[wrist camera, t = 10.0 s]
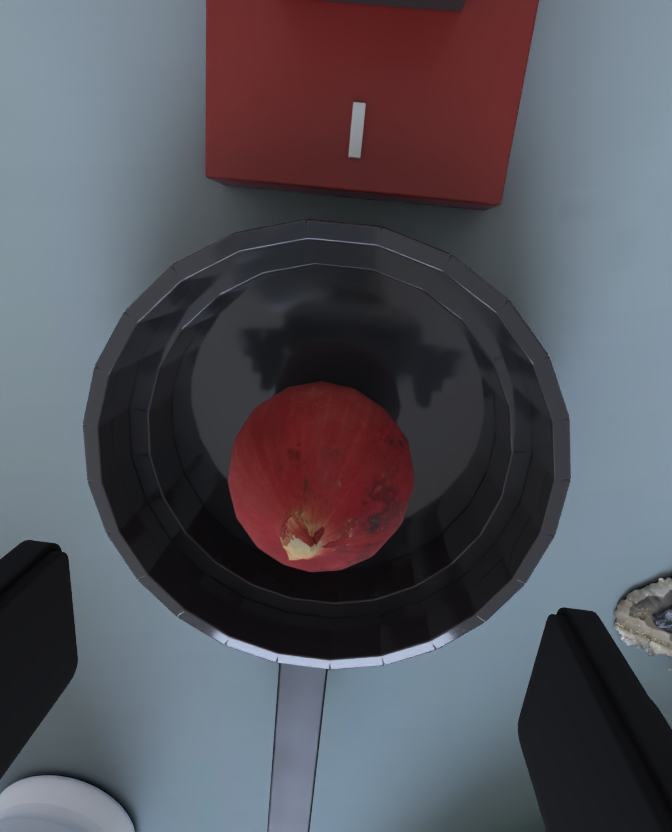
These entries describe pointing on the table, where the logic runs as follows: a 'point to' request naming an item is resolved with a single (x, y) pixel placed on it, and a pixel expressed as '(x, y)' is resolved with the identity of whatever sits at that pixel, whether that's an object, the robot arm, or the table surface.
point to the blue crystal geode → (647, 618)
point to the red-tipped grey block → (413, 3)
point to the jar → (60, 807)
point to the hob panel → (366, 98)
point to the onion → (320, 476)
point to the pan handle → (295, 746)
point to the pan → (347, 366)
